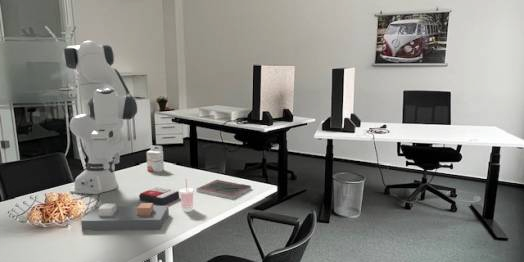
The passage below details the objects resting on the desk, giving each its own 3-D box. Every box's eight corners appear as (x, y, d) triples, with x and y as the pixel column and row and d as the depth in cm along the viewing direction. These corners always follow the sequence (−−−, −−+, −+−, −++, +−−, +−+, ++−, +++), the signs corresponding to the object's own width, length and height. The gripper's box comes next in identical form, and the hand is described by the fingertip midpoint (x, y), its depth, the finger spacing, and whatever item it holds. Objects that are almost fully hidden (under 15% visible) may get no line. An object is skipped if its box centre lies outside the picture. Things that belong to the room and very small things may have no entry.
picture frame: (251, 190, 188) (216, 183, 199) (251, 185, 187) (216, 179, 198) (232, 201, 174) (196, 193, 185) (232, 195, 173) (196, 188, 184)
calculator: (155, 186, 183) (179, 189, 175) (156, 194, 183) (179, 198, 176) (138, 193, 173) (162, 197, 166) (139, 202, 174) (163, 206, 167)
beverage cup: (196, 210, 161) (195, 179, 159) (183, 213, 158) (181, 182, 155) (191, 206, 166) (190, 175, 164) (178, 208, 163) (176, 178, 160)
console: (82, 230, 143) (81, 220, 142) (97, 215, 156) (96, 206, 156) (160, 229, 143) (160, 219, 143) (168, 214, 157) (168, 205, 156)
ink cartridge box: (147, 171, 219) (145, 146, 216) (151, 168, 224) (149, 145, 221) (160, 172, 217) (158, 147, 214) (164, 169, 222) (163, 145, 219)
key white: (99, 218, 147) (98, 208, 146) (104, 213, 152) (103, 203, 151) (112, 218, 147) (111, 208, 146) (116, 212, 152) (115, 203, 151)
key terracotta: (137, 217, 147) (137, 208, 146) (141, 212, 152) (140, 203, 151) (150, 217, 147) (149, 207, 146) (153, 212, 152) (153, 203, 151)
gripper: (111, 127, 153) (114, 160, 155) (88, 135, 133) (92, 173, 135) (126, 126, 153) (129, 159, 155) (105, 135, 133) (109, 172, 135)
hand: (112, 166), depth 145 cm, fingers open, 8 cm apart
